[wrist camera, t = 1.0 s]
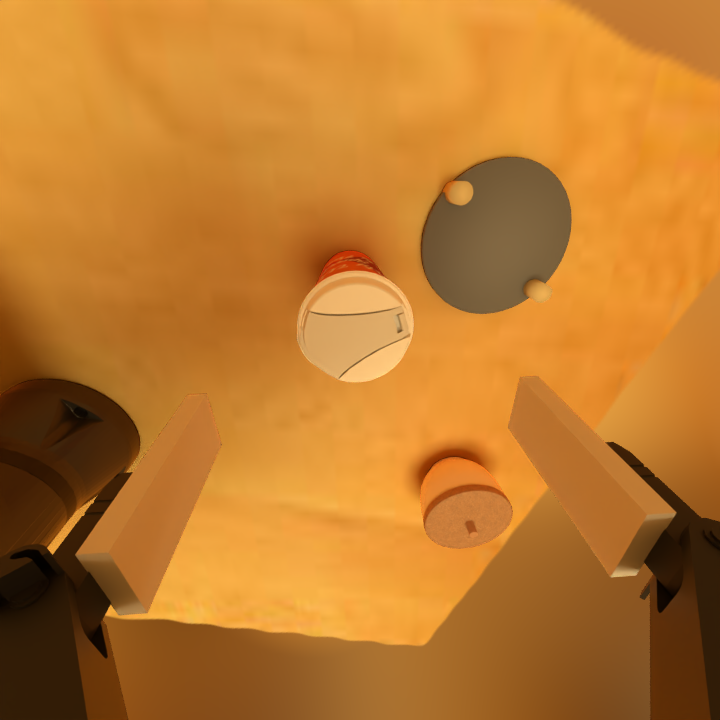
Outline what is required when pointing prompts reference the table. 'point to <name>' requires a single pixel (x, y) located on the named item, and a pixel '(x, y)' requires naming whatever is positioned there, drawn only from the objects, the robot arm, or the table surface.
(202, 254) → the table surface
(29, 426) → the robot arm
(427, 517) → the lidded jar
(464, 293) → the pad
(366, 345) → the paper cup
